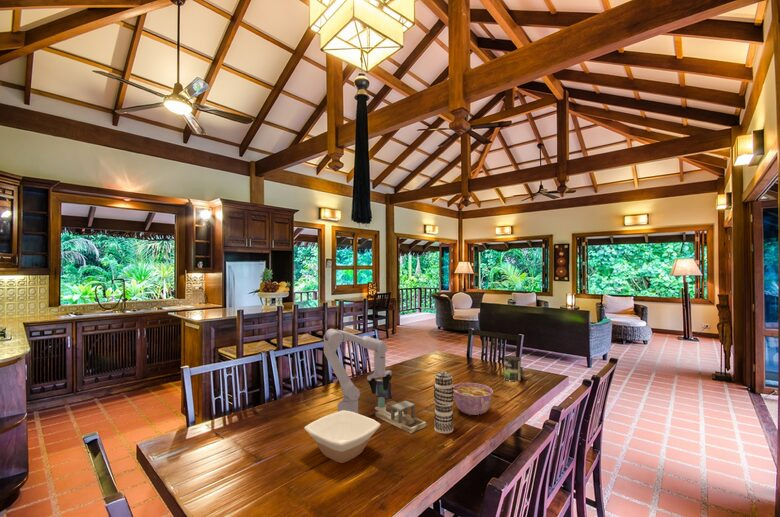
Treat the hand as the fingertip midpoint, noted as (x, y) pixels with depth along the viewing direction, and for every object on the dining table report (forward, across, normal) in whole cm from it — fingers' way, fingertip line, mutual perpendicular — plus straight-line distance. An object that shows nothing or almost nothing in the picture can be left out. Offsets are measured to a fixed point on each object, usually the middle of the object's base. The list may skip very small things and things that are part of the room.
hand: (379, 391), depth 178 cm
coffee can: (+10, +97, -18) cm, 99 cm away
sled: (+8, 0, -7) cm, 11 cm away
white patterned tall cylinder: (+10, +9, -34) cm, 37 cm away
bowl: (+10, -36, -20) cm, 42 cm away
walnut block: (+7, 0, -9) cm, 12 cm away
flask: (+10, +15, +14) cm, 23 cm away
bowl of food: (+10, +34, -32) cm, 48 cm away
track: (+10, 0, -15) cm, 18 cm away
